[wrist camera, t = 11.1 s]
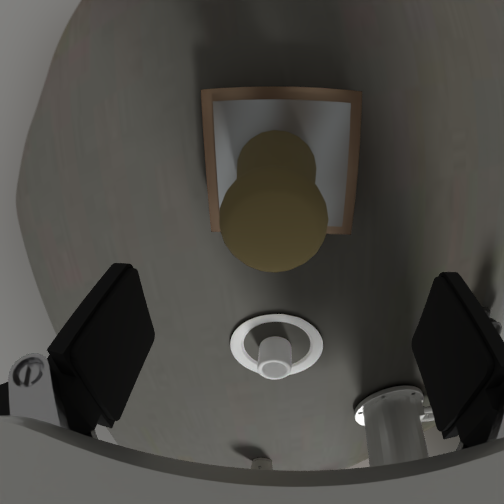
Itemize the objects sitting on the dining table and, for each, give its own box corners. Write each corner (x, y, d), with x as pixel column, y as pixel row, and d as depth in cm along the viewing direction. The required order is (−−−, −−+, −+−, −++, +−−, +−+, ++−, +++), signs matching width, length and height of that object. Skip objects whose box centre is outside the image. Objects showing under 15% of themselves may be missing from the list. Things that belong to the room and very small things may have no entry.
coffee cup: (244, 462, 62) (240, 497, 54) (252, 454, 59) (248, 491, 50) (271, 466, 63) (268, 500, 54) (281, 458, 59) (279, 495, 51)
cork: (281, 113, 20) (283, 136, 11) (332, 175, 22) (367, 246, 13) (220, 164, 23) (175, 226, 13) (271, 220, 25) (263, 311, 15)
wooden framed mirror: (350, 90, 23) (364, 91, 19) (343, 215, 29) (352, 237, 25) (212, 89, 24) (198, 89, 20) (219, 213, 30) (209, 234, 26)
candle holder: (291, 295, 35) (292, 320, 31) (337, 352, 39) (341, 377, 35) (212, 333, 39) (206, 358, 35) (265, 380, 43) (263, 404, 40)
